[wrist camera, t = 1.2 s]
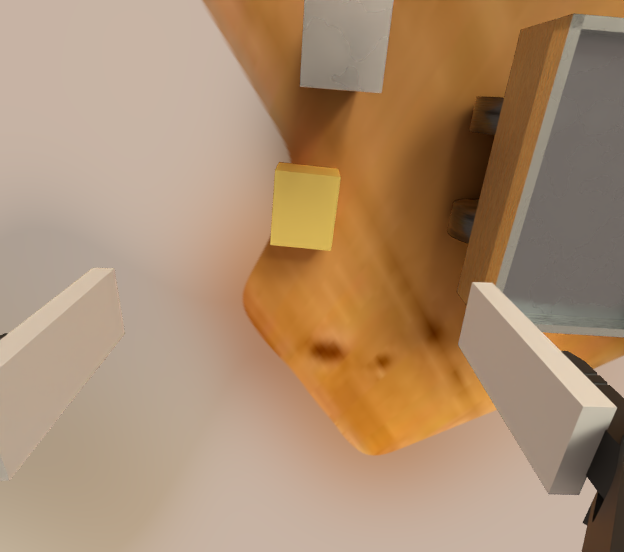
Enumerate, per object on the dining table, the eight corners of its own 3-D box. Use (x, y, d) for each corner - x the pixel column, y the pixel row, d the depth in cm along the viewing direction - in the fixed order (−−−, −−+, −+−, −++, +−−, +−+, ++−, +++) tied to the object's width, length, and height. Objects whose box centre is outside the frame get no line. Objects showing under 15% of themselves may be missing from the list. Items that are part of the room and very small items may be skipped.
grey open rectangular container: (476, 40, 30) (563, 12, 20) (645, 55, 31) (818, 35, 20) (430, 262, 38) (475, 327, 27) (566, 272, 38) (663, 339, 28)
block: (279, 161, 34) (275, 170, 30) (337, 168, 34) (340, 177, 31) (274, 229, 37) (270, 244, 33) (329, 235, 37) (331, 250, 33)
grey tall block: (307, 23, 30) (305, -13, 20) (366, 28, 30) (394, -5, 20) (303, 88, 32) (299, 86, 22) (359, 93, 32) (381, 93, 22)
